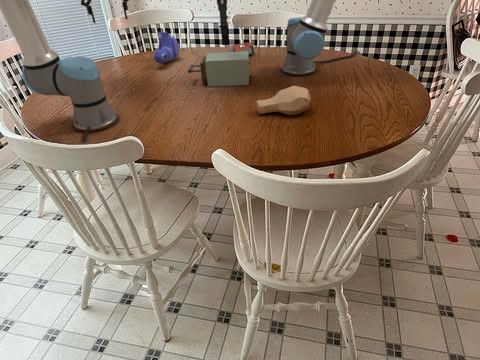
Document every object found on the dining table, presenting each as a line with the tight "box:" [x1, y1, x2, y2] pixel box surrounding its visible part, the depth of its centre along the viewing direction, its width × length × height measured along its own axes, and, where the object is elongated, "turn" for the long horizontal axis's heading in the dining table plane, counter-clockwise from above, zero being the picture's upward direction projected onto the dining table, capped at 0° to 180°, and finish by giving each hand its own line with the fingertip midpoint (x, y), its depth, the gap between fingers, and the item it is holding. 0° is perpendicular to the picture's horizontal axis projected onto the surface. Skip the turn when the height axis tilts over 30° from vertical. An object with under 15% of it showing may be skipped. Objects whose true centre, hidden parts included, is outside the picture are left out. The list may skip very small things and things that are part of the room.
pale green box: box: [205, 51, 250, 87], centre depth 157 cm, size 18×11×11 cm, turn 88°
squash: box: [255, 85, 312, 116], centre depth 130 cm, size 11×20×9 cm, turn 92°
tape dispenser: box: [228, 42, 255, 57], centre depth 185 cm, size 18×5×20 cm
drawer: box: [187, 55, 207, 85], centre depth 158 cm, size 23×10×9 cm, turn 88°
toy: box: [152, 31, 180, 69], centre depth 182 cm, size 10×17×25 cm
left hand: (110, 20), depth 155 cm, fingers open, 13 cm apart
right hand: (225, 40), depth 145 cm, fingers open, 13 cm apart
